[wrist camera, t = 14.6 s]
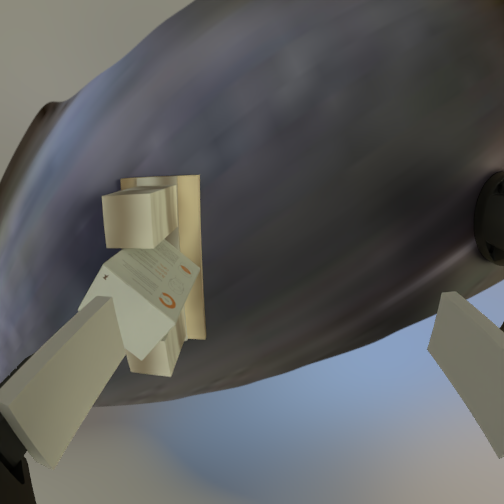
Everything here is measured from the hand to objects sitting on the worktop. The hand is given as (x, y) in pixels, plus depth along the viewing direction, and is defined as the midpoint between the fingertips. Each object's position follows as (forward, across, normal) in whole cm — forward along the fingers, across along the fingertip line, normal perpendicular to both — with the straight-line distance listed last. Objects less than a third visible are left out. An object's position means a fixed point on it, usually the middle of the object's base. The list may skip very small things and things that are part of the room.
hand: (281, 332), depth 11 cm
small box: (+25, +14, +6) cm, 29 cm away
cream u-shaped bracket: (+26, +14, +6) cm, 30 cm away
